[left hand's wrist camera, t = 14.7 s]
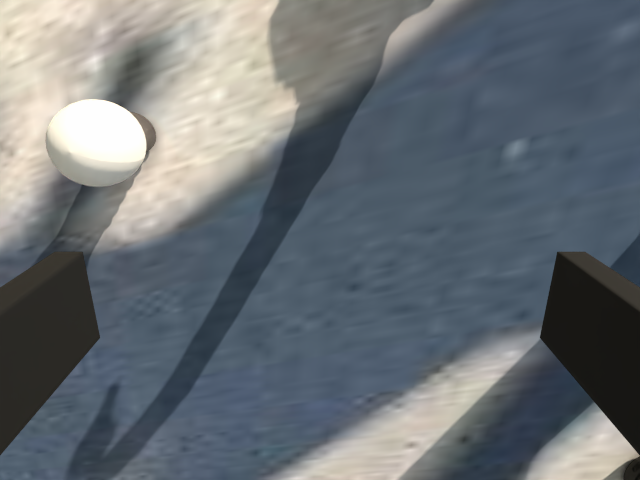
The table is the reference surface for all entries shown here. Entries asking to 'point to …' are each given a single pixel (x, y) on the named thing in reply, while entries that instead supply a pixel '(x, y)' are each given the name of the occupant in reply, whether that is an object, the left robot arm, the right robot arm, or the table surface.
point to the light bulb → (98, 142)
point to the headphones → (633, 470)
